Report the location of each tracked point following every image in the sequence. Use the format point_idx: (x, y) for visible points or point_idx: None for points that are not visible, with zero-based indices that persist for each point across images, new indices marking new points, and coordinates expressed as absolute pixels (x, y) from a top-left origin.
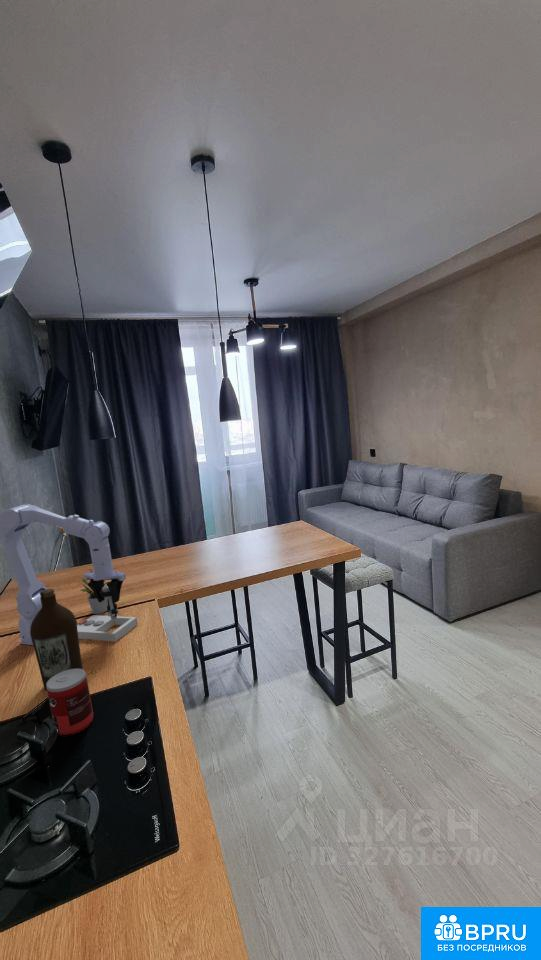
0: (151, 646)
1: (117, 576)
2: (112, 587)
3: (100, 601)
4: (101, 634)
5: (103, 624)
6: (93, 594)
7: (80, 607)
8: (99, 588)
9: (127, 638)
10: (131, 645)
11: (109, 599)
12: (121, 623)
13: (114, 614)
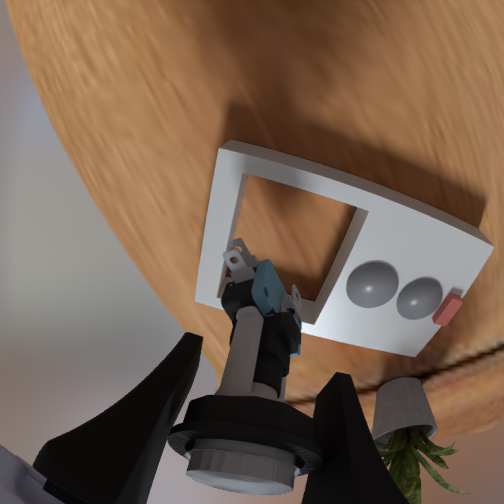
0: (64, 99)
1: (9, 501)
2: (77, 440)
3: (335, 379)
4: (314, 171)
5: (342, 272)
6: (417, 439)
7: (453, 404)
8: (325, 483)
9: (185, 163)
10: (135, 100)
11: (236, 373)
12: None
13: (233, 273)
